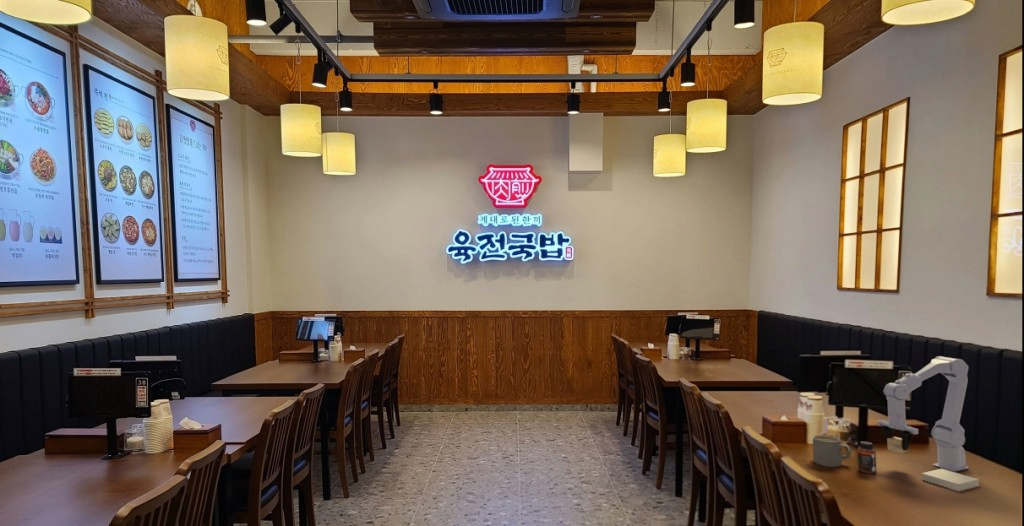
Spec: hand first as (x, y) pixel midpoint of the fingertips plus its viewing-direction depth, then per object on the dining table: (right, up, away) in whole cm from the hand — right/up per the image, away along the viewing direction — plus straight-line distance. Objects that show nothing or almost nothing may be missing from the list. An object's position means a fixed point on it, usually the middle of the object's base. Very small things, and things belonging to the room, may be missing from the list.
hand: (898, 447), depth 211 cm
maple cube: (0, -2, 0) cm, 2 cm away
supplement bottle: (-14, -9, -3) cm, 17 cm away
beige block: (+8, -8, -15) cm, 19 cm away
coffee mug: (-22, -9, +7) cm, 25 cm away
